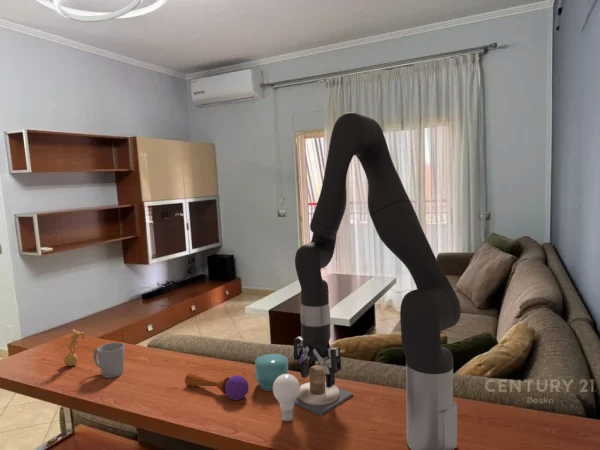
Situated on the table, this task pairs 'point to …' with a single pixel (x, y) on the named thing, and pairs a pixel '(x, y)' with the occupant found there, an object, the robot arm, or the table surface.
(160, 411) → the table surface
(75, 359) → the figurine
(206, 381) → the kendama
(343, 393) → the mat
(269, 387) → the teal rounded dome
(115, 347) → the cup
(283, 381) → the lightbulb
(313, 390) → the lid
